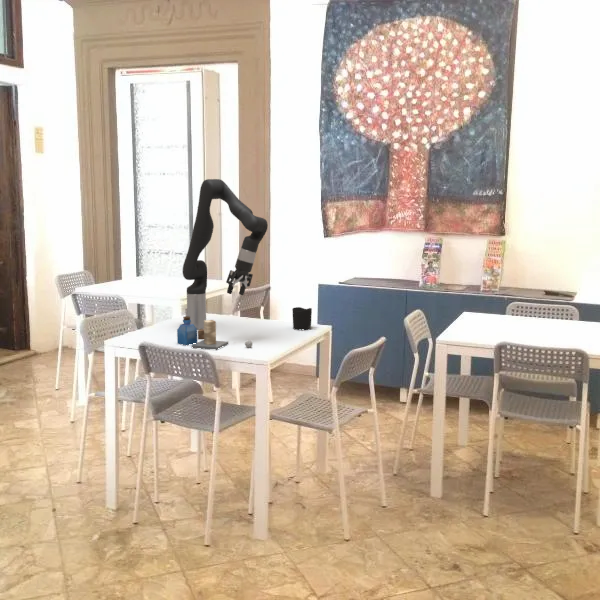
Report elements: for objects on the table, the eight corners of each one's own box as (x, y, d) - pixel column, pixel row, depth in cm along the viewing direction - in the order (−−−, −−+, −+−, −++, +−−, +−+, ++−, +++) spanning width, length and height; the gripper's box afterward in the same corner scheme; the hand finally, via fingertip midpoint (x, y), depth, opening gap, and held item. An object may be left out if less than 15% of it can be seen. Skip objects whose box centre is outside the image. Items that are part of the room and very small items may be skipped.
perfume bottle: (188, 341, 331) (187, 315, 329) (197, 343, 327) (196, 316, 325) (177, 343, 326) (176, 317, 324) (186, 345, 322) (185, 318, 320)
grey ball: (243, 347, 317) (243, 340, 317) (246, 346, 320) (246, 339, 320) (250, 348, 316) (250, 341, 316) (253, 346, 319) (253, 339, 319)
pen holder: (297, 331, 354) (297, 310, 352) (289, 327, 362) (289, 307, 360) (314, 329, 358) (315, 309, 356) (306, 326, 366) (306, 306, 364)
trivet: (191, 348, 317) (191, 345, 317) (203, 342, 328) (203, 339, 328) (216, 350, 313) (216, 347, 313) (228, 344, 325) (228, 341, 324)
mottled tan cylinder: (207, 344, 318) (207, 322, 316) (204, 343, 321) (203, 320, 320) (216, 343, 320) (215, 321, 318) (212, 342, 323) (212, 319, 322)
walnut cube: (198, 339, 335) (197, 330, 335) (199, 337, 339) (199, 329, 339) (206, 339, 335) (206, 331, 334) (208, 337, 339) (208, 329, 338)
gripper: (249, 258, 335) (238, 292, 338) (229, 255, 323) (218, 290, 326) (261, 264, 331) (250, 297, 334) (242, 260, 319) (231, 295, 322)
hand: (235, 294), depth 330 cm, fingers open, 8 cm apart
